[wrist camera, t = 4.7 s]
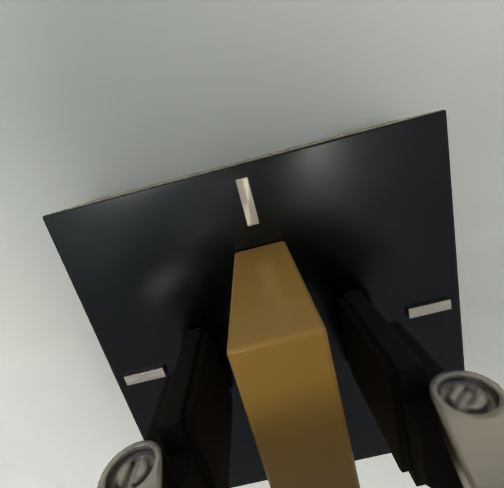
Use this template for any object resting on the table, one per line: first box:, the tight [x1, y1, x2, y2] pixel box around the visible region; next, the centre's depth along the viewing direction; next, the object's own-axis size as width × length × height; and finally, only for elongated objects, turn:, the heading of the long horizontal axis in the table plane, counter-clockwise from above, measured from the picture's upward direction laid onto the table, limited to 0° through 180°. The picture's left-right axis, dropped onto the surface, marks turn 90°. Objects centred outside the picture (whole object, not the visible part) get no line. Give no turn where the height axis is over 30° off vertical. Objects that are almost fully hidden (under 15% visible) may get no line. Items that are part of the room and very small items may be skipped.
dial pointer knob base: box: [43, 110, 465, 488], centre depth 12 cm, size 12×12×3 cm
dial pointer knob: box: [227, 241, 360, 488], centre depth 8 cm, size 7×2×5 cm, turn 14°
